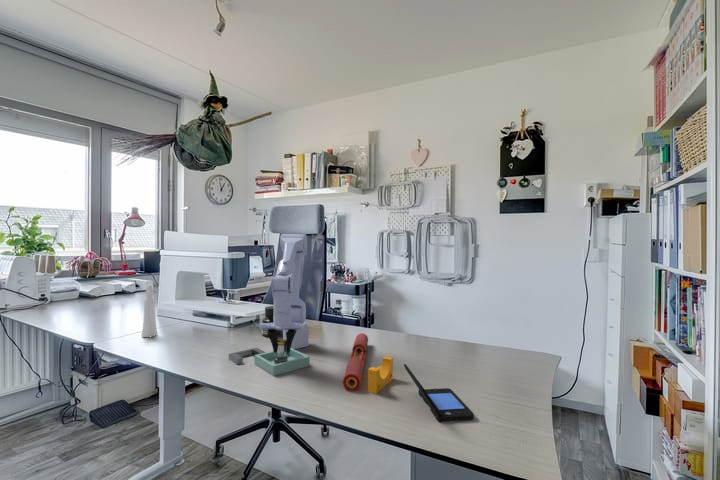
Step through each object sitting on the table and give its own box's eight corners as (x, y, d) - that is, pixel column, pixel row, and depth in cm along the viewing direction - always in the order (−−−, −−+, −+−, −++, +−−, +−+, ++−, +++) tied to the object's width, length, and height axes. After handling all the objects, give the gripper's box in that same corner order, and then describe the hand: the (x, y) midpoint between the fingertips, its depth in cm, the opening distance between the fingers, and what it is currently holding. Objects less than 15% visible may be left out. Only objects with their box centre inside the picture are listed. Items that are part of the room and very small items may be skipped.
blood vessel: (360, 392, 96) (360, 374, 96) (342, 391, 97) (342, 373, 97) (368, 345, 138) (368, 333, 138) (355, 345, 139) (355, 332, 139)
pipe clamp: (379, 376, 107) (380, 355, 107) (392, 378, 105) (393, 357, 105) (362, 391, 97) (362, 368, 97) (376, 394, 95) (376, 371, 95)
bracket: (256, 352, 128) (256, 347, 128) (265, 357, 122) (265, 352, 122) (228, 358, 121) (228, 353, 121) (236, 364, 115) (237, 359, 115)
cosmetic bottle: (158, 333, 152) (158, 283, 152) (156, 336, 146) (157, 285, 146) (142, 334, 149) (142, 283, 149) (139, 338, 144) (140, 285, 144)
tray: (289, 355, 125) (289, 347, 125) (309, 365, 115) (309, 356, 115) (254, 364, 116) (254, 355, 116) (273, 376, 106) (273, 366, 106)
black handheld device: (476, 421, 81) (476, 383, 81) (419, 425, 79) (420, 386, 79) (450, 392, 97) (450, 360, 96) (402, 394, 95) (402, 362, 95)
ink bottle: (257, 335, 151) (257, 307, 151) (272, 330, 158) (273, 304, 158) (272, 338, 145) (272, 310, 145) (287, 334, 152) (288, 307, 152)
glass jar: (275, 359, 117) (277, 338, 118) (288, 360, 117) (290, 339, 118) (272, 363, 113) (274, 342, 113) (285, 364, 113) (287, 343, 113)
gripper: (256, 313, 112) (256, 355, 112) (301, 314, 111) (300, 356, 111) (264, 308, 119) (263, 348, 119) (305, 309, 118) (305, 349, 118)
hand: (282, 351), depth 115 cm, fingers closed on glass jar, 4 cm apart
